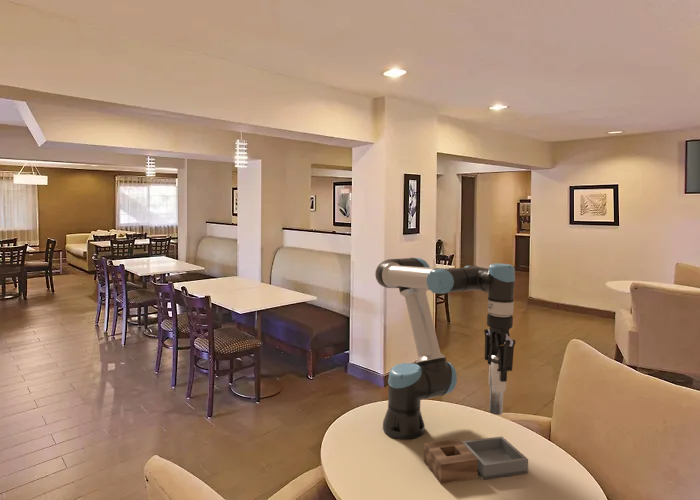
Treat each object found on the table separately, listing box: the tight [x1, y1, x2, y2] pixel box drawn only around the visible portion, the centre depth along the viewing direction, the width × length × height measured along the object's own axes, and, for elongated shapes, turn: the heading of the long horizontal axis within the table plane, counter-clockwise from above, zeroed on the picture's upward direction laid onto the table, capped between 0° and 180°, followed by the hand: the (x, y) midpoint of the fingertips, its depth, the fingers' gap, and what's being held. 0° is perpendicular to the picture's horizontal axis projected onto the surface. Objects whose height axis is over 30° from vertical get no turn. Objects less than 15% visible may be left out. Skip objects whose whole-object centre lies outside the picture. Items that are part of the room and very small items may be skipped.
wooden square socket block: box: [423, 438, 479, 485], centre depth 136 cm, size 12×12×6 cm
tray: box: [460, 435, 529, 480], centre depth 140 cm, size 14×15×4 cm
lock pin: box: [488, 354, 504, 416], centre depth 138 cm, size 4×4×18 cm
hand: (496, 387), depth 138 cm, fingers closed on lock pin, 4 cm apart
